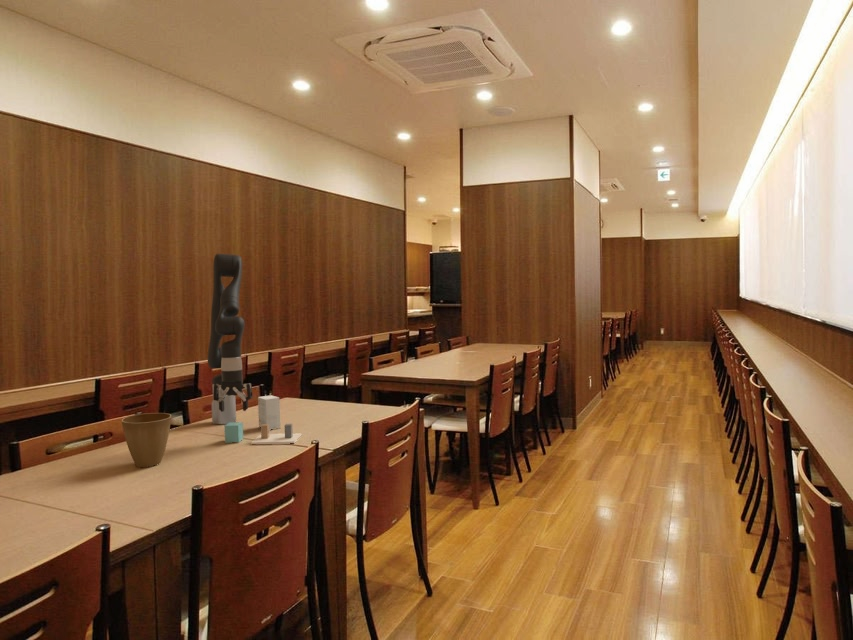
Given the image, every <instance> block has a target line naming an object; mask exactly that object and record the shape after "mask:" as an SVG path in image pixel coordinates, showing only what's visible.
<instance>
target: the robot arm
mask: <svg viewBox="0 0 853 640" xmlns="http://www.w3.org/2000/svg"><path fill="white" fill-rule="evenodd" d="M212 270H213V274H212V275H213V278H212V279H213V284H212V285H213V287H212V288H213V289H212V292H213V293H212V300H211V313H210V334H209V335H210V336H209V344H208V349H207V350H208V351H207V364H208V366H209V367H208V368H209V369H213V370H214V369H220V370H221V373H220V374H217V375H215V376H213V378H212V380H211V381H212V401H211V421H212V422H211V424H212V425H213V424H215V425H226V424H228V423H232V422H236V421H237V409H236V408H237V407H236V406H237V405H236V402H237V401H236V396H238V397H239V398H240V399H241V400H242V411H243V412H246V411H247V410H248V408H249V402H248V401H249V400H252V399H253V398H254V397H253V388H252V386H253V385H252V383H251V382H249V383H244V380H243V379H244V378H243V377H244V376H243V360H242V346H241V345H242V339H243V334H244V331H245V325H246V324H245V320H244V318H243V317H241V316H239V313H240V292H241V291H240V290H241V284H242V276H243V275H242V274H243V259H242V257H241V256H240V255H237V254H228V253H225V254H224V253H217V254H215V255H214V258H213V268H212ZM222 277H227V278H232V280H231V281H230V283H229V284H228V285H227V286H226V287H225V286H224V283H223V281H222ZM224 336H234V338H233V339H231V340H227V341H224V342H222V343H221V340H222V339H223V337H224ZM220 343H221V344H220ZM220 345H221V346H220ZM244 389H245V390H246V393H245V392H244V391H243V390H244ZM246 394H247V395H246Z"/></svg>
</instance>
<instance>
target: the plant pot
mask: <svg viewBox="0 0 853 640" xmlns="http://www.w3.org/2000/svg"><path fill="white" fill-rule="evenodd" d="M171 421H172V414H170V413H166V412H149V413H138V414H132V415H129V416H125V417H123V418H122V419H121V426H122V430H123V434H124V438H125V442H126V445H127V449H128V451H129V453H130V456H131V459H132V461H133V463H134V465H135V467H136V468H140V467H146V468H148V467H147V466H153V465H156V466H158V465H160V464H161V462H162V460H163V456H164V455H165V451H166V447H167V443H168V439H169V434H170V428H171V423H172V422H171ZM159 463H160V464H159ZM157 464H158V465H157ZM153 467H154V466H153Z"/></svg>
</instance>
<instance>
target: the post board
mask: <svg viewBox="0 0 853 640" xmlns="http://www.w3.org/2000/svg"><path fill="white" fill-rule="evenodd" d="M301 435H302V432H299V433H294V432H293V423H285V424H284V433H270V430H269V424H263V425H261V428H260V434H259V435H258V436H257V437H256V438H254V440H252V441H251V445H252V444H272V445H291V444H290V443H295V442H296V441H298V440H299V439H300V438H301V437H302V436H301ZM300 436H301V437H300ZM299 437H300V438H299ZM298 438H299V439H298ZM297 439H298V440H297ZM296 443H297V442H296ZM296 443H295V444H296Z"/></svg>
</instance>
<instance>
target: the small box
mask: <svg viewBox="0 0 853 640" xmlns="http://www.w3.org/2000/svg"><path fill="white" fill-rule="evenodd" d="M257 407H258V408H257V410H258V411H257V413H258V428H259V427H261V425H263V424H269V431H272V430H271V429H273V430H277V429H276V428H278V429H281V403H280V397H279V396H274V395H272V394H271V395H264V396H258V397H257Z"/></svg>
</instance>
